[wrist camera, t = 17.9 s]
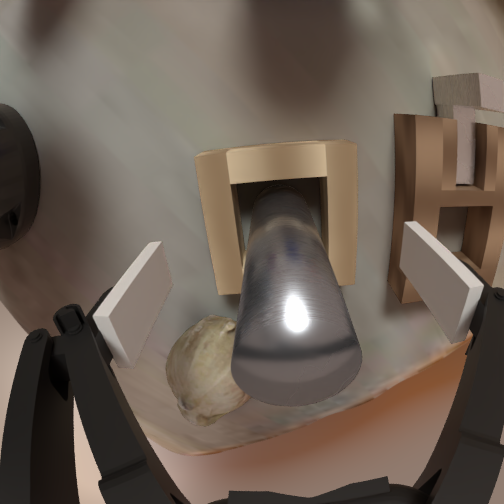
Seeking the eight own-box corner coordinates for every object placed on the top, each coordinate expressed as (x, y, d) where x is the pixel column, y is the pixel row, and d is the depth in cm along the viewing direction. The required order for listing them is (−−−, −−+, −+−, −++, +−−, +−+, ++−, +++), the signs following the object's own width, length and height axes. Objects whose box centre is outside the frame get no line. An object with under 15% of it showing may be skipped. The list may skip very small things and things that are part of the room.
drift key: (432, 77, 16) (478, 72, 11) (457, 82, 16) (504, 81, 11) (435, 176, 20) (478, 198, 14) (459, 176, 19) (503, 198, 14)
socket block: (393, 113, 18) (415, 115, 15) (489, 125, 17) (514, 130, 14) (387, 280, 24) (401, 303, 21) (472, 269, 23) (490, 288, 20)
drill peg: (256, 237, 23) (240, 408, 9) (250, 187, 21) (219, 324, 8) (308, 233, 23) (353, 399, 9) (305, 182, 21) (370, 312, 7)
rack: (223, 274, 24) (218, 294, 22) (203, 151, 20) (194, 157, 17) (345, 264, 24) (354, 284, 21) (344, 139, 19) (356, 143, 17)
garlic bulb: (231, 351, 32) (218, 437, 25) (162, 321, 28) (137, 414, 22) (291, 323, 26) (284, 433, 19) (210, 281, 23) (181, 407, 16)
